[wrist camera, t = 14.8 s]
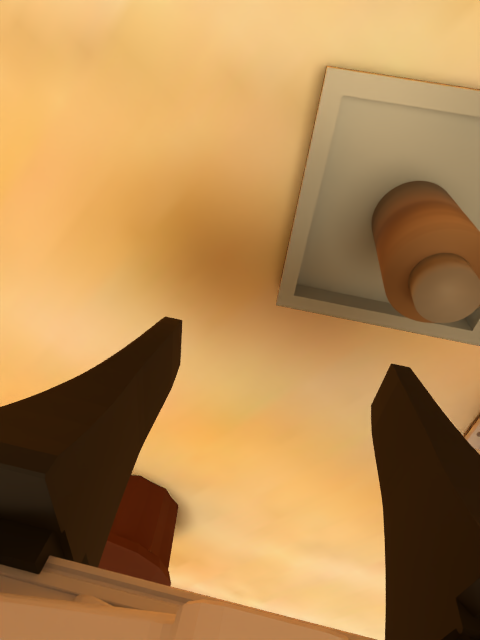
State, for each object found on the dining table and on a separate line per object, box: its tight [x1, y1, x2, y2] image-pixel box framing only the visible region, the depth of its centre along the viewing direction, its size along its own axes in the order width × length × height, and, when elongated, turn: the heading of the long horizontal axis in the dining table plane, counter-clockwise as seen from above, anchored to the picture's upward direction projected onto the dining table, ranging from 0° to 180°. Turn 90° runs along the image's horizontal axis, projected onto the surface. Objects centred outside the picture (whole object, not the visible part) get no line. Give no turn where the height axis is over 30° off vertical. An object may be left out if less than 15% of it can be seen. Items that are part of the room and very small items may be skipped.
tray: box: [276, 66, 480, 346], centre depth 18 cm, size 11×11×2 cm
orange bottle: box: [372, 181, 480, 323], centre depth 15 cm, size 4×4×7 cm
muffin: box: [98, 475, 178, 586], centre depth 35 cm, size 12×11×10 cm
